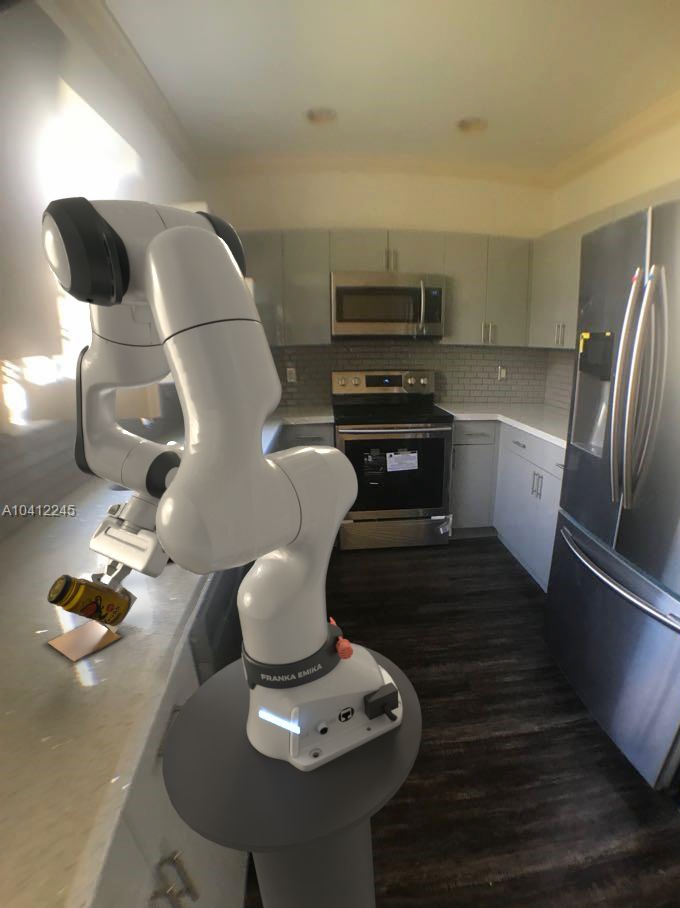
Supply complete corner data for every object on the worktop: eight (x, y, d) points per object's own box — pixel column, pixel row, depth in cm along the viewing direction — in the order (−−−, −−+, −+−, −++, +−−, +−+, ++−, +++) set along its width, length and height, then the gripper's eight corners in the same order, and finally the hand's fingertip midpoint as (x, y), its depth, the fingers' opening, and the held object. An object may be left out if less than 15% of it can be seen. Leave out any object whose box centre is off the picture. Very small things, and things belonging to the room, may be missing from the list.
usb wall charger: (95, 590, 100) (90, 574, 99) (106, 575, 106) (102, 560, 105) (115, 588, 101) (110, 572, 99) (125, 573, 107) (121, 557, 106)
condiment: (115, 634, 84) (48, 612, 76) (100, 618, 90) (36, 596, 81) (138, 598, 86) (75, 573, 78) (122, 585, 92) (62, 560, 83)
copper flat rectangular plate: (93, 621, 89) (93, 619, 89) (121, 637, 84) (120, 636, 84) (48, 643, 83) (47, 642, 83) (74, 662, 78) (74, 661, 78)
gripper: (190, 537, 87) (153, 606, 83) (131, 516, 97) (95, 576, 93) (164, 524, 82) (122, 596, 78) (104, 503, 92) (65, 566, 88)
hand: (107, 585), depth 86 cm, fingers closed
